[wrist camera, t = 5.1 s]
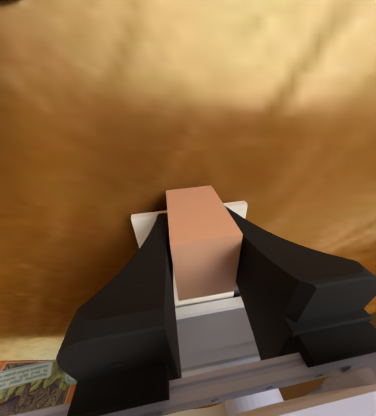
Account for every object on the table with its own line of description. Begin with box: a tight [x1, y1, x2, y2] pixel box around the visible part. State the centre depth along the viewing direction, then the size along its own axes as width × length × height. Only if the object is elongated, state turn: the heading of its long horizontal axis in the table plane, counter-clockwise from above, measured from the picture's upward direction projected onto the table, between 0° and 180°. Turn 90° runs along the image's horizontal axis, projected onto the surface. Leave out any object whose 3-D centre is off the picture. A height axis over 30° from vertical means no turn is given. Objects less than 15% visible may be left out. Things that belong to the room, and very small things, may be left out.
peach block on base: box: [131, 185, 247, 308], centre depth 12 cm, size 14×8×5 cm, turn 3°
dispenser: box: [175, 285, 261, 378], centre depth 18 cm, size 9×14×6 cm, turn 93°
